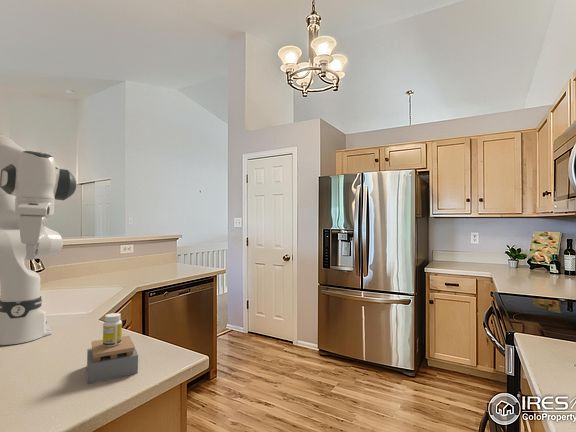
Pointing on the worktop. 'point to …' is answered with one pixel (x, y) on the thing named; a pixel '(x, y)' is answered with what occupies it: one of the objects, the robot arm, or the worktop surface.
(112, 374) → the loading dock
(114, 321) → the supplement bottle
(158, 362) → the worktop surface
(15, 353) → the worktop surface
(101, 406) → the worktop surface
